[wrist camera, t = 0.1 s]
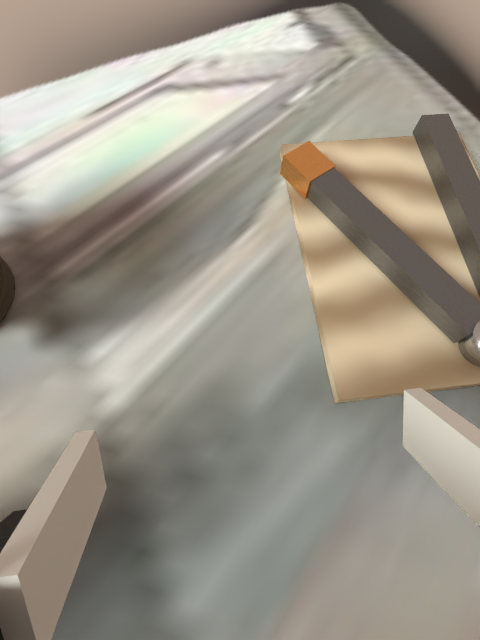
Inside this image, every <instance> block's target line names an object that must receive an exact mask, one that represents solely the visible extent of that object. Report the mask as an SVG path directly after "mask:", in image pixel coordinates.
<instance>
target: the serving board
mask: <svg viewBox="0 0 480 640" xmlns="http://www.w3.org/2000/svg"><path fill="white" fill-rule="evenodd" d="M458 135H459V138H460V140H461V142H462V144H463V146H464V148H465V150H466V153H467V155H468V157H469V159H470V161H471V163H472V165H473V168H474V170H475V172H476V174H477V176H478V178H479V180H480V176H479V174H478V172H477V170H476V168H475V166H474V163H473V161H472V159H471V157H470V155H469V153H468V151H467V149H466V146H465V144H464V142H463V140H462V138H461V136H460V134H459V133H458ZM303 144H304V143H299V144H284V145H282V148H281V154H280V157H281V161H282V159H283V155H285V154H287V153H288V152H290V151H292V150H294V149H296V148H297V147H299V146H301V145H303ZM312 144H313V145H314V146H315V147H316V148H317V149H318V150H319V151H321V152H322V153H323V154H324V155H325V156H326V157H327V158H328V159H329V160H330V161H331V162H332V163H334V164H335V165H336V167H335V169H336V170H337V171H339V172H340V173H341V174H342V175H343V176H344V177H345V178H346V179H347V180H348V181H349V182H350V183H351V184H353V185H354V186H355V187H356V188H357V189H358V190H359V191H360V192H361V193H362V194H363V195H364V196H365V197H366V198H368V199H369V200H370V201H371V202H372V203H373V204H374V205H375V206H376V207H377V208H378V209H379V210H380V211H382V212H383V213H384V214H385V215H386V216H387V217H388V218H389V219H390V220H391V221H392V222H393V223H394V224H395V225H397V226H398V227H399V228H400V229H401V230H402V231H403V232H404V233H405V234H406V235H407V236H408V237H409V238H411V239H412V240H413V241H414V242H415V243H416V244H417V245H418V246H419V247H420V248H421V249H422V250H423V251H425V252H426V253H427V254H428V255H429V256H430V257H431V258H432V259H433V260H434V261H435V262H436V263H437V264H438V265H440V266H441V267H442V268H443V269H444V270H445V271H446V272H447V273H448V274H449V275H450V276H451V277H452V278H454V279H455V280H456V281H457V282H458V283H459V284H460V285H461V286H462V287H463V288H464V289H465V290H466V291H467V292H469V293H470V294H471V295H472V296H473V297H474V298H475V299H476V300H477V301H478V302H479V303H480V297H479V295H478V292H477V290H476V288H475V285H474V283H473V280H472V278H471V275H470V273H469V270H468V268H467V265H466V263H465V260H464V258H463V256H462V253H461V251H460V248H459V246H458V243H457V241H456V238H455V236H454V233H453V231H452V229H451V226H450V224H449V221H448V219H447V216H446V214H445V211H444V209H443V206H442V204H441V201H440V199H439V197H438V194H437V192H436V189H435V187H434V184H433V182H432V179H431V177H430V174H429V172H428V169H427V167H426V165H425V162H424V160H423V157H422V155H421V152H420V150H419V147H418V145H417V142H416V140H415V138H414V136H404V137H389V138H374V139H359V140H344V141H329V142H314V143H312ZM286 184H287V188H288V193H289V198H290V202H291V207H292V211H293V216H294V220H295V225H296V230H297V234H298V239H299V243H300V248H301V252H302V257H303V261H304V266H305V271H306V275H307V280H308V284H309V289H310V293H311V298H312V302H313V307H314V312H315V316H316V321H317V325H318V330H319V334H320V339H321V344H322V348H323V353H324V357H325V362H326V366H327V371H328V375H329V380H330V385H331V389H332V394H333V398H334V403H335V404H336V403H344V402H352V401H360V400H368V399H376V398H384V397H392V396H400V395H404V390H407V389H414V388H422V389H423V390H425V391H426V392H432V391H440V390H449V389H457V388H465V387H473V386H480V367H478V366H475V365H473V364H471V363H469V362H468V361H467V360H466V359H465V358H464V357H463V356H462V354H461V353H460V350H459V348H458V342H456V343H453V342H452V341H451V340H450V339H449V338H448V337H447V336H446V335H445V334H444V333H443V332H442V331H441V330H440V329H439V328H438V327H437V326H436V325H435V324H434V323H433V322H432V321H431V320H430V319H429V318H428V317H427V316H426V315H425V314H424V313H423V312H422V311H421V310H420V309H419V308H418V307H417V306H416V305H415V304H414V303H413V302H412V301H411V300H410V299H409V298H408V297H407V296H406V295H405V294H404V293H403V292H402V291H401V290H400V289H399V288H398V287H397V286H396V285H395V284H394V283H393V282H392V281H391V280H390V279H389V278H388V277H387V276H386V275H385V274H384V273H383V272H382V271H381V270H380V269H379V268H378V267H377V266H376V265H375V264H374V263H373V262H372V261H371V260H370V259H369V258H367V257H366V256H365V255H364V254H363V253H362V252H361V251H360V250H359V249H358V248H357V247H356V246H355V245H354V244H353V243H352V242H351V241H350V240H349V239H348V238H347V237H346V236H345V235H344V234H343V233H342V232H341V231H340V230H339V229H338V228H337V227H336V226H335V225H334V224H333V223H332V222H331V221H330V220H329V219H328V218H327V217H326V216H325V215H324V214H323V213H322V212H321V211H320V210H319V209H318V208H317V207H316V206H315V205H314V204H313V203H312V202H311V201H310V200H309V199H308V198H304V197H303V196H302V195H301V194H300V193H299V192H298V191H297V190H296V189H295V188H294V187H293V186H292V185H291V184H290V183H289V182H288V181H287V180H286Z"/></svg>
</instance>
